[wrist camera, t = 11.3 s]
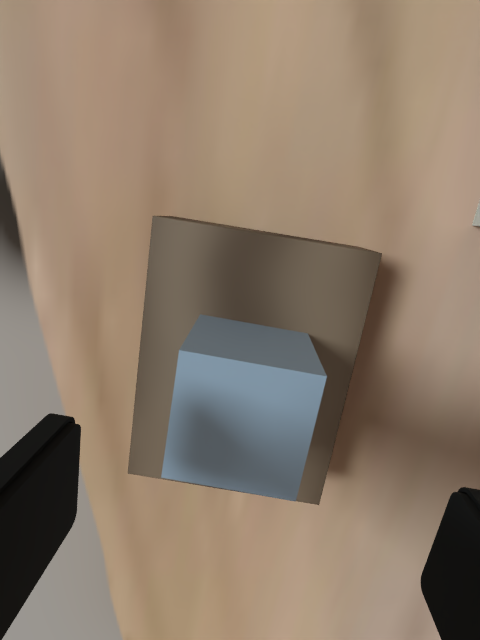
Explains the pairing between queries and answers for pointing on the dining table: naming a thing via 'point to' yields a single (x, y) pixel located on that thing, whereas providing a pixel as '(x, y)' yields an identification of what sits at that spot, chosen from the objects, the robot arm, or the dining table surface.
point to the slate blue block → (243, 408)
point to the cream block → (477, 217)
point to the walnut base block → (248, 319)
